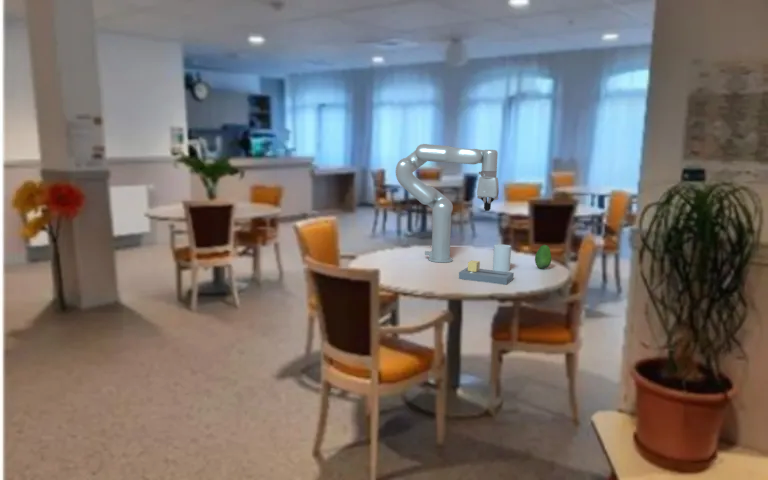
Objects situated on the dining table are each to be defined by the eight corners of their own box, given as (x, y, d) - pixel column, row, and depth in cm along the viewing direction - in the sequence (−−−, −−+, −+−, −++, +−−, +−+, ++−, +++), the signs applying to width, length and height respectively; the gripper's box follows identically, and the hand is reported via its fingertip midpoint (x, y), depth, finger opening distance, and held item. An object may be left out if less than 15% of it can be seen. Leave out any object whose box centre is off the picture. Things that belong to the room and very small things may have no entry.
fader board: (458, 278, 265) (459, 272, 264) (467, 273, 275) (467, 267, 275) (506, 284, 255) (506, 277, 254) (513, 279, 266) (513, 272, 265)
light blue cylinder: (510, 269, 287) (512, 245, 285) (508, 272, 279) (509, 248, 277) (494, 267, 289) (495, 243, 287) (491, 271, 282) (492, 246, 280)
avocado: (554, 269, 287) (555, 245, 285) (542, 271, 284) (543, 246, 282) (542, 266, 294) (543, 243, 292) (530, 267, 291) (532, 244, 288)
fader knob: (467, 270, 266) (468, 262, 265) (471, 268, 270) (471, 260, 270) (476, 271, 264) (476, 263, 263) (479, 269, 269) (479, 261, 268)
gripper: (472, 174, 292) (470, 210, 295) (501, 175, 286) (499, 212, 289) (476, 173, 299) (475, 209, 302) (505, 174, 292) (503, 211, 295)
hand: (487, 210), depth 295 cm, fingers closed
